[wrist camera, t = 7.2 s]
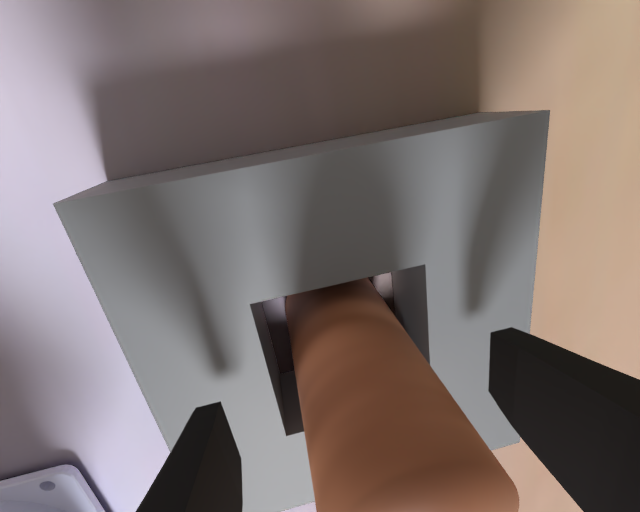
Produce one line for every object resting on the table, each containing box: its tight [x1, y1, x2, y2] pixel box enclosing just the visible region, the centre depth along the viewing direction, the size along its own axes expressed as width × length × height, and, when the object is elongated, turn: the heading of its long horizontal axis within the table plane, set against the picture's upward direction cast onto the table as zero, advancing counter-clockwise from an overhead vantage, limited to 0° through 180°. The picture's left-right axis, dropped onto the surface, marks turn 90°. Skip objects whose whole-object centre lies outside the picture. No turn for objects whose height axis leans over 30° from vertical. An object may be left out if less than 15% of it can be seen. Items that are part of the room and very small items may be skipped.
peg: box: [285, 278, 519, 512], centre depth 10 cm, size 4×4×8 cm
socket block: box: [53, 110, 550, 512], centre depth 12 cm, size 12×12×3 cm
